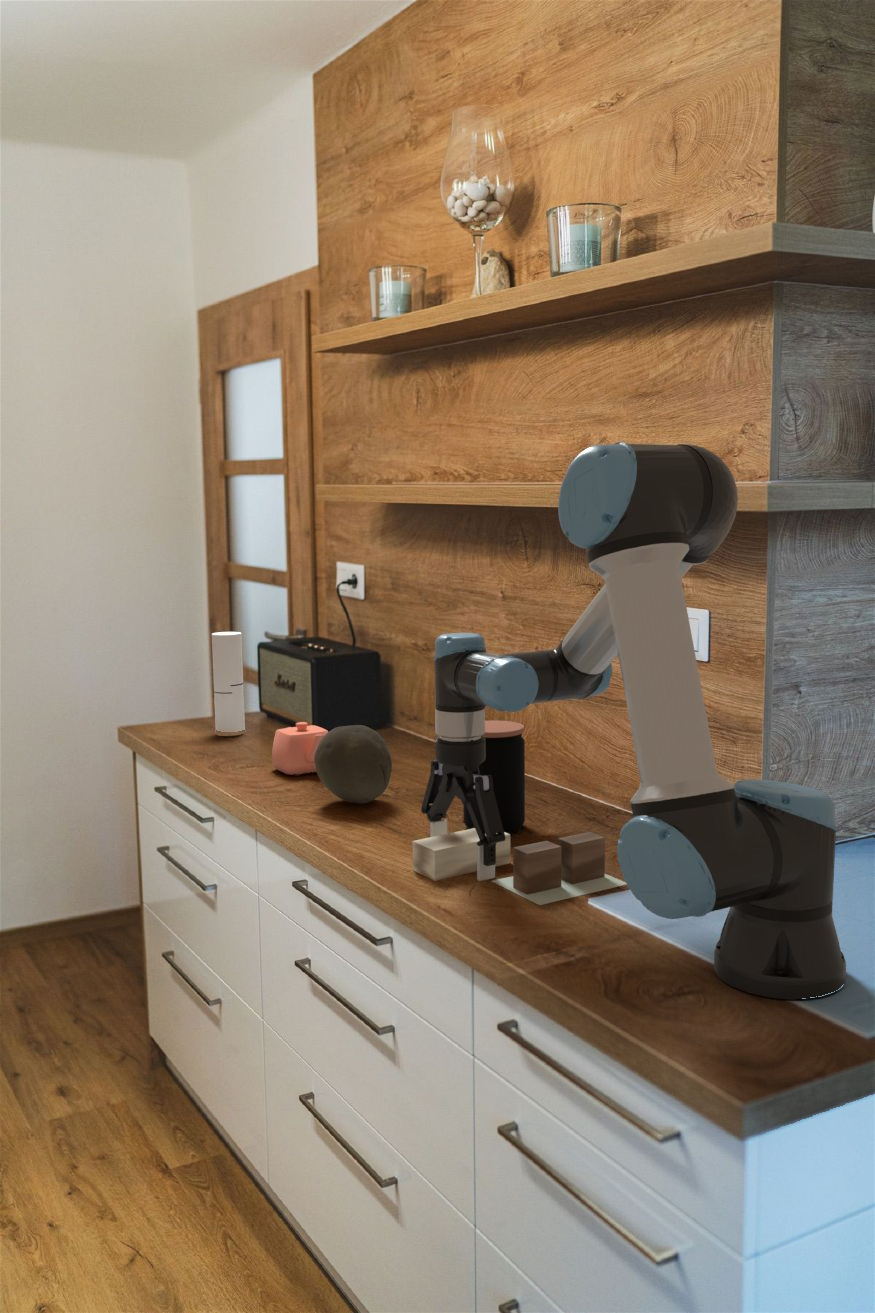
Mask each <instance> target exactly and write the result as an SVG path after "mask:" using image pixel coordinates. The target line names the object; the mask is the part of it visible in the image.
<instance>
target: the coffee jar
mask: <svg viewBox="0 0 875 1313" xmlns="http://www.w3.org/2000/svg"><path fill="white" fill-rule="evenodd" d="M524 732H525V726H524V724H522V723H520V722H516V721H511V720H510V721H509V720H497V719H496V720H492V719H491V720H485V733H484V734H483V735H481V736H483V737H484V738H485V740H486V759H485V761H484V762H483V763H481V764H480V765H479V772H480V775H481V776H485V775H491V776H492V777H493V790H494V794H495V798H496V802H497V806H498V810H499V814H500V818H501V822H502V825H503V829H504V832H506V833H508V834H510V835H511V834H514V833H517V832H519V831H520V830H521V828H522V827H523V825H524V823H525V822H526V819H525V818H526V816H525V815H526V814H525V813H526V809H525V808H526V806H525V805H526V799H525V798H526V795H525V794H526V790H525V789H526V787H525V785H526V784H525V783H526V782H525V780H526V775H525V773H526V772H525V770H526V767H525V764H526V763H525V762H526V761H525V758H526V756H525V754H526V753H525V752H526V750H525V749H526V748H525V747H526V744H525V743H526V742H525V739H524V738H523V737H522V734H524ZM474 795H476V792H475V794H474ZM462 805H463V807H462V808H463V811H462V814H463V816H462V817H463V818H462V819H463V823H464V825H465V827H466V828H467V829H472V828H475V827H474V824H473V822H472V819H471V816H470V814H469V811H468V809H467V806H466V805H464V804H463V803H462Z"/></svg>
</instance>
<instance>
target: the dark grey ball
mask: <svg viewBox="0 0 875 1313" xmlns="http://www.w3.org/2000/svg"><path fill="white" fill-rule="evenodd" d="M392 764H393V762H392V756H391V753H390V750H389V748H388V746H387V744H386V741H385V740H384V738H383V737H382V736H381V735H380V734H379V732H377V731H376V730H374V729H373V728H370V727H369V726H366V725H362V724H354V725H352V724H351V725H343V726H337V727H334V728H333V729H331V730H330V731H328V733H327V734H326V735H325V736H324V737H323V738H322V739H321V741H320V742H319V745H318V748H317V750H316V752H315V766H316V770H317V772H316V775H317V776H318V778H319V780H320V782H321V783H322V784H323V786H324V787H325V788H326V789H327V790H328V791H330V793H332V794H333V795H334V796H336V797H338V798H339V799H340V800H343V801H345V802H347V803H348V802H349V803H351V804H360V805H363V804H364V805H365V804H367V803H370V802H373V801H374V800H375V799H378V798H379V797H380V796H382V794H384V793H385V791H386V790H387V788H388V786H389V784H390V779H391V774H392V769H393V765H392Z"/></svg>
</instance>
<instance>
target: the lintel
mask: <svg viewBox="0 0 875 1313" xmlns="http://www.w3.org/2000/svg"><path fill="white" fill-rule="evenodd" d="M504 833H505V841H502V842H497V843H496V863H495V868H496V867H499V866H504V865H508V864H511V834H508V833H506V832H504ZM485 835H486V833H485ZM479 841H480V839H479V837H478V834H477V832H476V829H475V828H472V829H468V828H467V829H463V830H458V831H454V832H449V833H448V832H447V834H444V835H439V836H434V837H430V836H429V837H425V838H419V839H417V840H412V871H414V872H415V873H417V874H419V875H421V876H424V877H426V878H428V879H430V880H432V881H434V882H436V881H441V880H445V879H450V878H453V877H457V876H461V875H466V874H471V873H475V872H477V843H478V842H479Z"/></svg>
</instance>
